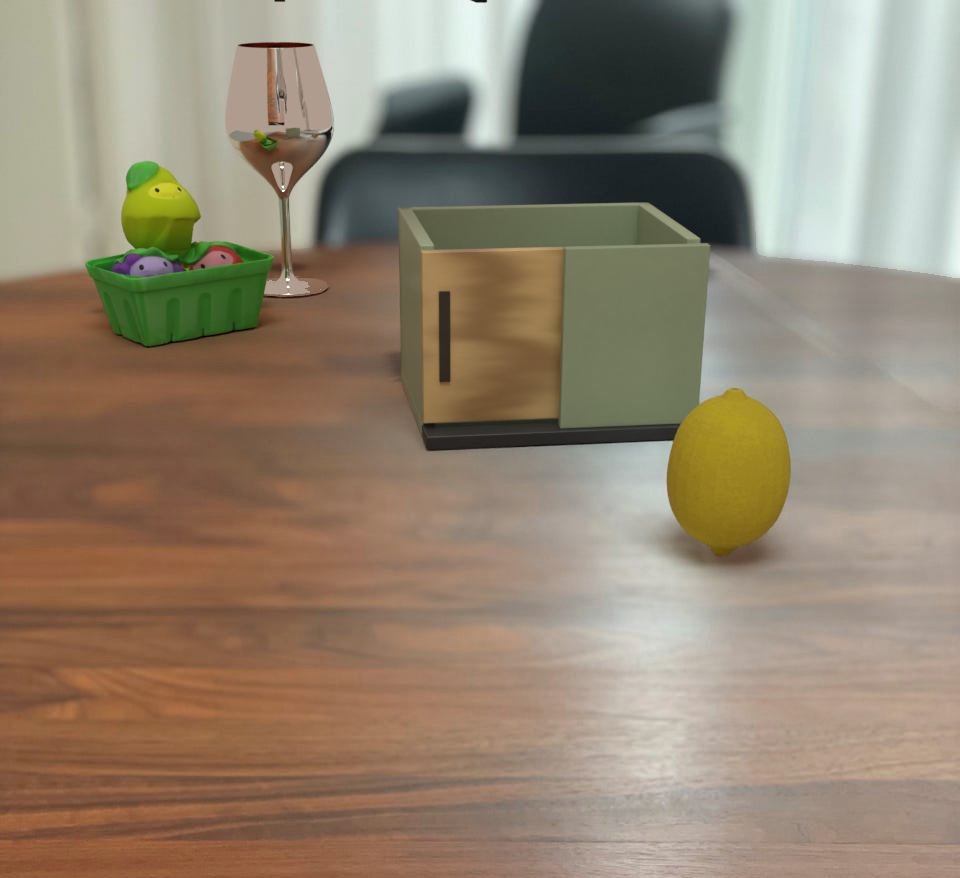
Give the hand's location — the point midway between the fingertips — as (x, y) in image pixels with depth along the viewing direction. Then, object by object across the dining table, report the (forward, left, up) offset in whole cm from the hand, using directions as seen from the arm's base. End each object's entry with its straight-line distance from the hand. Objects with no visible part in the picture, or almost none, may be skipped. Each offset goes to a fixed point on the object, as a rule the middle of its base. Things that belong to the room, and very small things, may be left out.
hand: (379, 0), depth 74 cm
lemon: (-14, +18, -23) cm, 32 cm away
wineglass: (+4, -40, -23) cm, 46 cm away
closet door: (-6, -1, -22) cm, 23 cm away
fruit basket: (+12, -28, -23) cm, 38 cm away
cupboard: (-10, -6, -23) cm, 26 cm away
